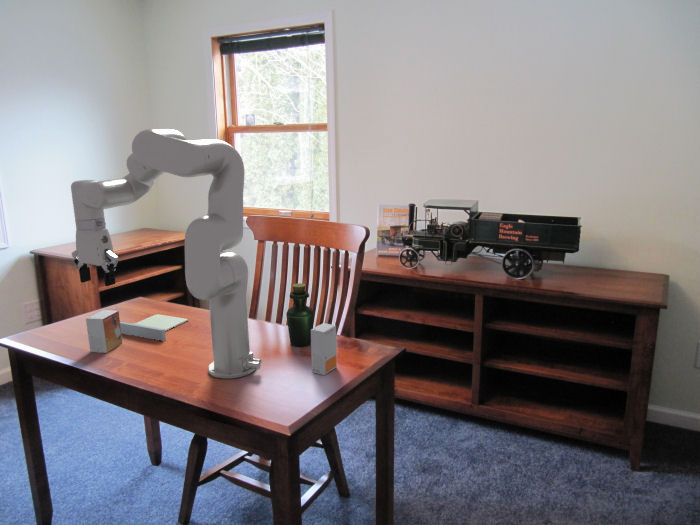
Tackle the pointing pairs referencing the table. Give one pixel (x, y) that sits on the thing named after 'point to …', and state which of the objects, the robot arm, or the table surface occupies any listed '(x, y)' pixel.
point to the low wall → (143, 331)
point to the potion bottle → (300, 317)
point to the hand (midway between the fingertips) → (98, 283)
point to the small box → (104, 331)
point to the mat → (162, 321)
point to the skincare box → (323, 348)
